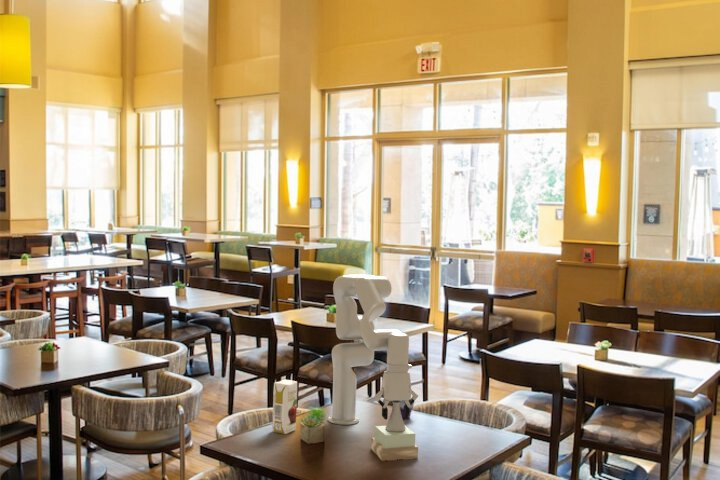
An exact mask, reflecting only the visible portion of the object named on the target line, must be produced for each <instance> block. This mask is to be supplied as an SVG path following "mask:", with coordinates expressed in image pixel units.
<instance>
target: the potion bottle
mask: <svg viewBox="0 0 720 480" xmlns="http://www.w3.org/2000/svg"><path fill="white" fill-rule="evenodd" d="M410 399H411V398H410ZM410 399H409V400H410ZM404 405H405V403H404V401H401V404H400V411H401V415H402V419H403V421H404V420H409V419H411V414H412V411H413V409H414V405H415V402H414V403H413V404H412V405H411V407H409V416H408V419H406V418H405V417H403V408H404Z"/></svg>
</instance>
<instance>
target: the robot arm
mask: <svg viewBox="0 0 720 480" xmlns="http://www.w3.org/2000/svg"><path fill="white" fill-rule="evenodd" d="M332 285H333V287H332V291H333V298H334V301H335V334H336V337H337V338H338V339H339V340H342V341H350V340H351V341H352V340H353V341H354V340H359V342H344V343H343V342H342V343H341V342H340V343H338V344H336V345H334V346H333V347H332V349H331V360H332V372H333V373H332V375H333V377H332V378H333V379H332V381H333V382H332V401H331V404H332V405H331V415H329V416H328V417H327V420H328V423H332V424H335V425H342V426H343V425H346V426H348V425H354V424H357V423H359V422H360V418H359V416H357V415H356V412H357V411H356V407H357V406H356V405H357V403H356V402H357V375H356V374H355V372H354V370H353V367H365V366H366V367H367V366H370V365H372V363H373V362H374V359H375V351H376V352H377V351H378V352H379V351H387V352H386V370H384V371H383V375H382V379H381V387H380V390H379V391H378V392H377V393H376V394H375V395H374V396H373V398H374V399H375V400H376V401H377V403H378V404H379V405H380V407H381V416H382V418H383V419H384V420H386V421H388V415H389V414H388V413H389V412H388V411H389V410H388V405H389V403H390V402H392V401H404V403H405V405H404V408H403V417H405V418H406V419H405V420H409V419H408V416H409V407H411V405H412V404H413V403H414V404H415V401H416V400H417V399H418V398H419V395H418V394H417V393H416V392H414V390H413V389H412V381H411V373H410V371H409V369H412V367H413V365H412V364H409V352H410V336H409V334H407V333H404V332H402V331H401V330H399V329H396V328H389V329H388V328H386V329H375V323H374V321H373V320H375V319H378V318H379V317H382V315H383V314H385V312H386V309H387V306H386V302H385V301H384V299H385V298H388V297H390V296H391V293H392V284H391V281H390V280H389V279H388V278H387V277H386V276H384V275H375V274H345V275H340V276H337V277H336V278H335V280H334V282H333V284H332ZM353 297H357V299H358V301H359V304H360V306H361V308H362V311H363V315H358V305H357V302H356V301H355V299H354V298H353ZM380 398H382V399H383V400H381V399H380ZM409 399H410V400H409Z"/></svg>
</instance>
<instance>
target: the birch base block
mask: <svg viewBox="0 0 720 480" xmlns="http://www.w3.org/2000/svg"><path fill="white" fill-rule="evenodd" d="M370 446H371V448H370V449H371V450H372V452H373V453H374V454H375V455H377V458H379V459H380V460H381V462H383V461H385V460H387V461H398V460H399V459H403V460H415V459H414V458H419V446H418V445H417V444H415V446H412V447H398V448H384V447H383V446H382V445H381V444H380V443H379V442H378V441H377V440H376V439H375V436H374V437H371V444H370ZM397 459H398V460H397ZM399 461H400V460H399ZM385 462H386V461H385Z"/></svg>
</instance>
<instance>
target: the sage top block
mask: <svg viewBox="0 0 720 480" xmlns="http://www.w3.org/2000/svg"><path fill="white" fill-rule="evenodd" d="M405 428H406V429H405V430H404V431H402V432H393V431H388V430H387V429H386V425H375V426H374V437H375V439H376V440H377V441H378V442H379V443H380V444H381V445H382V446H383V447H384V448H398V447H412V446H415V445H416V433H415V432H414V431H413V430H412V429H411V428H409V427H408V426H407V425H405Z"/></svg>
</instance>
